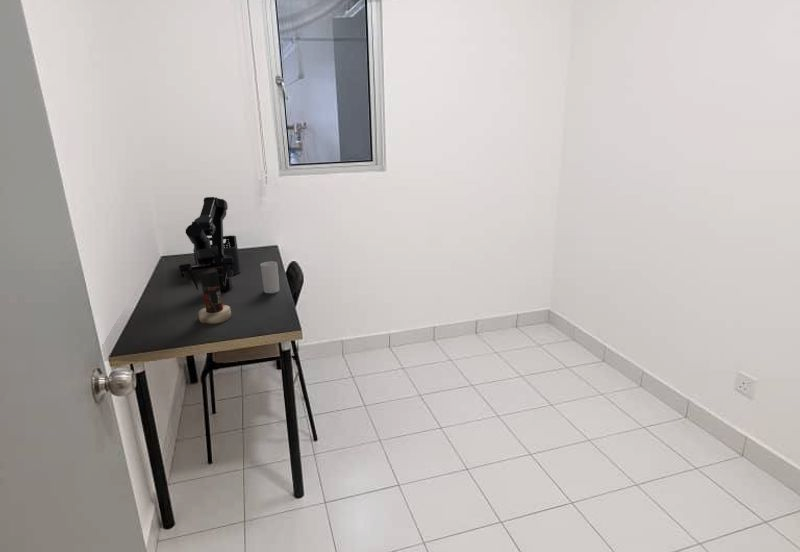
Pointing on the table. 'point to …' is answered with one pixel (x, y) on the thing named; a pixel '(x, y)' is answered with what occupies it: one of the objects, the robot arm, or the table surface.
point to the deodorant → (211, 290)
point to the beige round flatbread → (215, 315)
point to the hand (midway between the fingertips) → (211, 287)
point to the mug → (270, 277)
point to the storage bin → (227, 253)
